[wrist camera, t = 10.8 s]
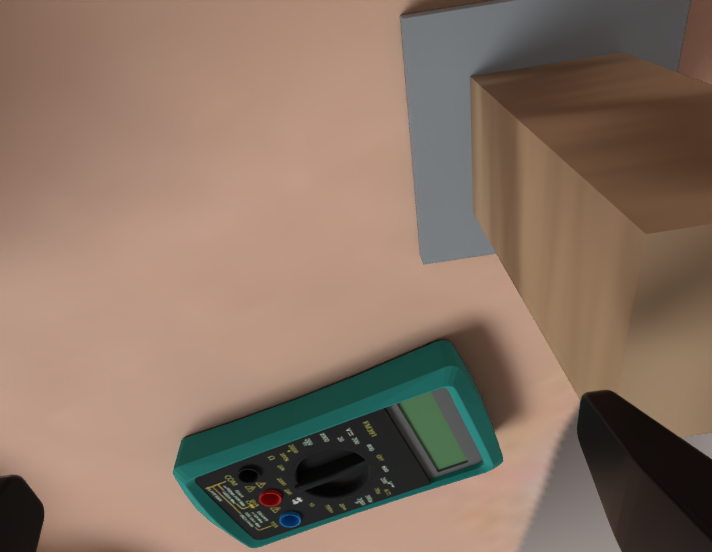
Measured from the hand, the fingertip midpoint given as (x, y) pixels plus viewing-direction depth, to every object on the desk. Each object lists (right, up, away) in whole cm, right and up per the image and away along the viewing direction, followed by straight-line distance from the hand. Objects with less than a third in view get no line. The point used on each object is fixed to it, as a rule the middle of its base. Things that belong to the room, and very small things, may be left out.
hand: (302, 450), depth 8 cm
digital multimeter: (0, -5, +20) cm, 20 cm away
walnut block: (+7, +8, +10) cm, 15 cm away
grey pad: (+7, +8, +11) cm, 15 cm away
